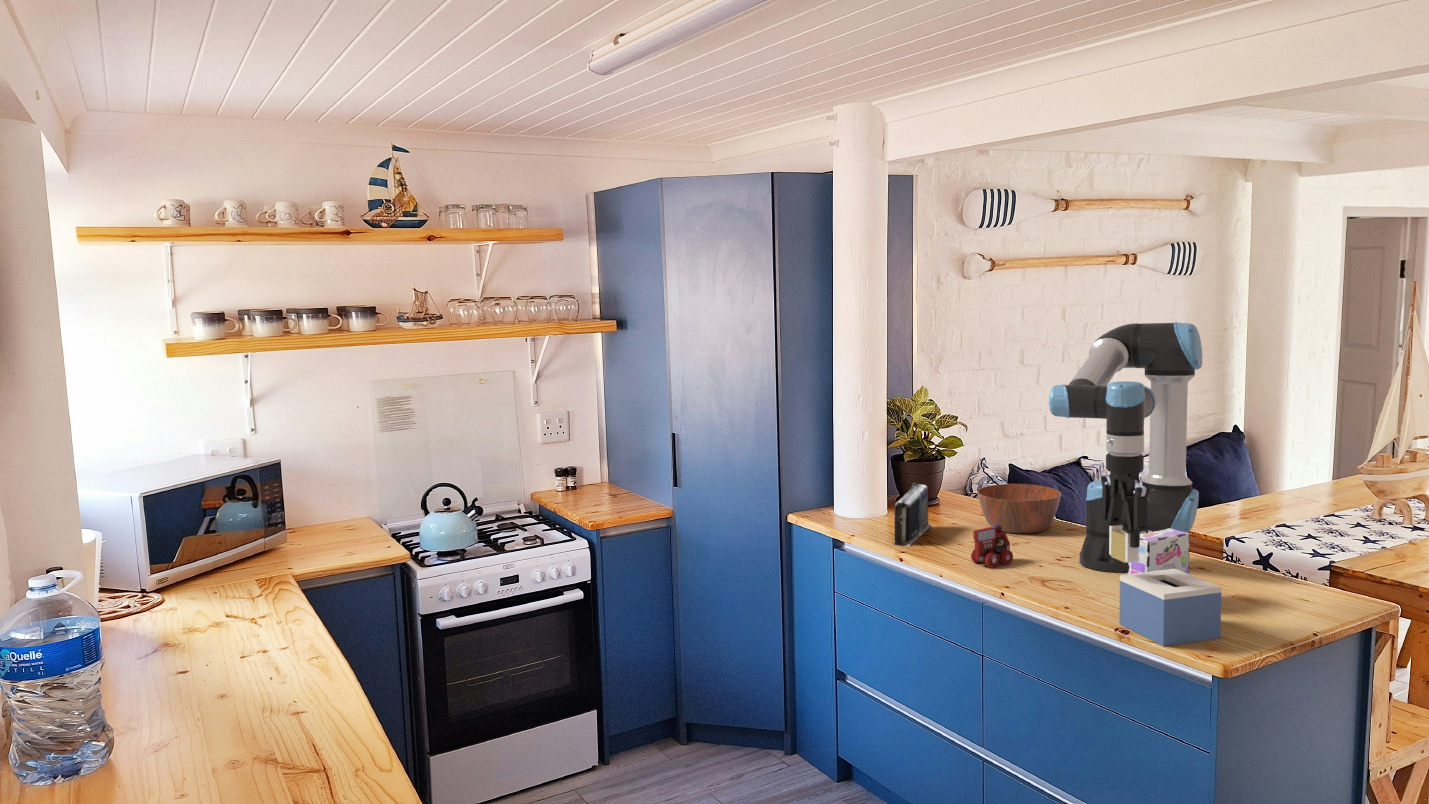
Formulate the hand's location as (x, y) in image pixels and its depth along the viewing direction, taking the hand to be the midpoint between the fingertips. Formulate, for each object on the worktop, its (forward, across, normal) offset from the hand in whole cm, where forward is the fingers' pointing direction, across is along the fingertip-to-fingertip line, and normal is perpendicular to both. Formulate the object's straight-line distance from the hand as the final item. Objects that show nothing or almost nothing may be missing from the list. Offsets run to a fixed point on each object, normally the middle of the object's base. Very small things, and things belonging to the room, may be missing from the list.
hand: (1123, 557), depth 205 cm
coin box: (+16, +6, +7) cm, 18 cm away
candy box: (+16, -12, +18) cm, 27 cm away
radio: (+16, -85, -13) cm, 87 cm away
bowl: (+16, -84, +22) cm, 88 cm away
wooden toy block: (0, 0, 0) cm, 0 cm away
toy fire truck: (+16, -52, -4) cm, 55 cm away
